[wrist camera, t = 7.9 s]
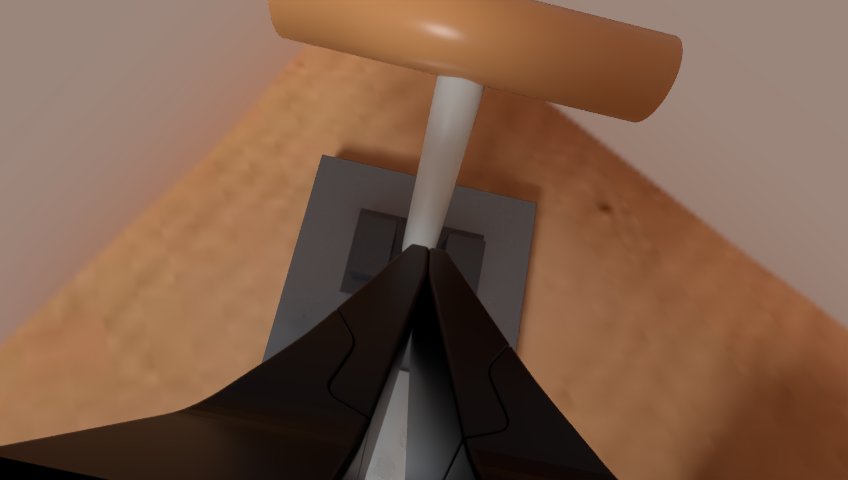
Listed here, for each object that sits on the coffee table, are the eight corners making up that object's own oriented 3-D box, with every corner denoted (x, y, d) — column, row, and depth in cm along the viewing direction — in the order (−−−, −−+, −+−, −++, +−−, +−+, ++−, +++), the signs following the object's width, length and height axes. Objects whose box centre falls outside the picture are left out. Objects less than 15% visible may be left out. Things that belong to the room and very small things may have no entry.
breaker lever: (528, 303, 16) (696, 51, 8) (292, 252, 15) (262, -58, 8) (524, 264, 17) (663, 25, 10) (310, 217, 17) (299, -68, 10)
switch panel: (482, 513, 18) (520, 594, 13) (241, 468, 18) (176, 532, 12) (527, 211, 22) (571, 175, 16) (326, 165, 21) (305, 114, 16)
